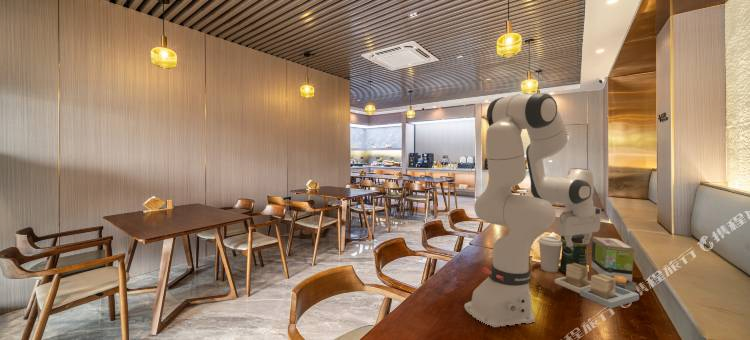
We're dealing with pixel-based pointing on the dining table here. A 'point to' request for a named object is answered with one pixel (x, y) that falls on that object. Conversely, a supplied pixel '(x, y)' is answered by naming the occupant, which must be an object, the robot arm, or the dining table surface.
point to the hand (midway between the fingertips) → (577, 244)
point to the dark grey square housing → (627, 285)
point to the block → (576, 275)
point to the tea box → (612, 257)
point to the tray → (563, 283)
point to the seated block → (603, 286)
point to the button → (620, 279)
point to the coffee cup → (550, 253)
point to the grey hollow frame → (620, 298)
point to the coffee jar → (573, 252)
